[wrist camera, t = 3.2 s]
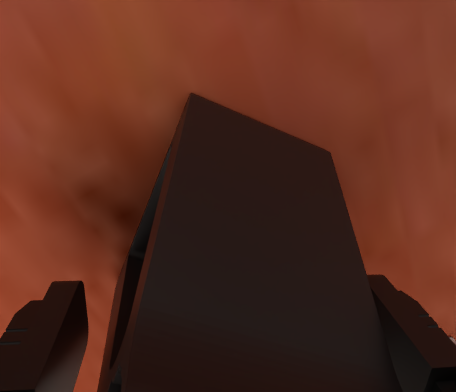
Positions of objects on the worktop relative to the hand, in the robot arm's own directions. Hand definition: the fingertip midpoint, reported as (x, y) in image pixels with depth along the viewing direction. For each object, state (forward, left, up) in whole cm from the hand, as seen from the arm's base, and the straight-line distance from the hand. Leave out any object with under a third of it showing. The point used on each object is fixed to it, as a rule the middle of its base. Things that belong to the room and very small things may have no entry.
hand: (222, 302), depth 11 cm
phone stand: (0, 0, -6) cm, 6 cm away
